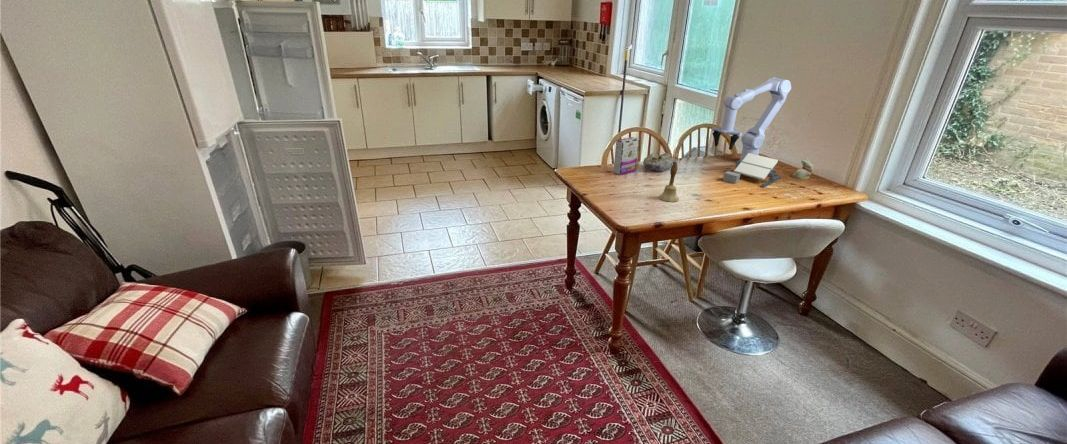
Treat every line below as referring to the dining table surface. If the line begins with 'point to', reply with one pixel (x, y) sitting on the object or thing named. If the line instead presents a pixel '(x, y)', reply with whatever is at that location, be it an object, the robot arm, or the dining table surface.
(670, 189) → the hand bell
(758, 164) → the trapdoor
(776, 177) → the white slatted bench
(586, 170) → the dining table surface
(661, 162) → the geode
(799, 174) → the open clam shell
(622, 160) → the candy bar box
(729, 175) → the gray rectangular block
